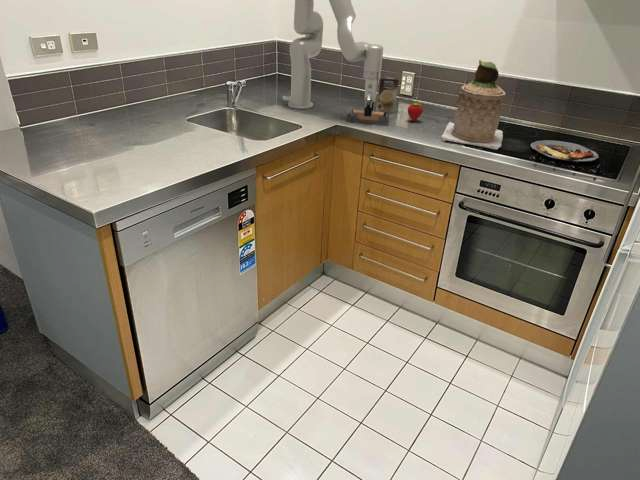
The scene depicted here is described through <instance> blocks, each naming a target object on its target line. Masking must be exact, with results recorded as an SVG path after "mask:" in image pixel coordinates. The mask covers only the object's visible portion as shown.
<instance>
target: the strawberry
mask: <svg viewBox="0 0 640 480" xmlns="http://www.w3.org/2000/svg"><path fill="white" fill-rule="evenodd" d="M423 112H424V108H423V106H422V103H418V99H416V102H414V103H411V104H410V105H409V106H408V107H407V114H408V116H409V118H410V119H411V120H412V122H416V121H417V120H418V119H419V118H420V117H421V115H422V113H423Z"/></svg>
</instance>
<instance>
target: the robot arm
mask: <svg viewBox="0 0 640 480" xmlns="http://www.w3.org/2000/svg"><path fill="white" fill-rule="evenodd" d="M328 2H329V5H330V6H331V9H332V12H333V14H334V17H335V20H336V23H337V29H336V30H337V31H336V33H337V35H336V36H337V43H338V46H339V48H340V51H341V53H342V56H343V57H344V59H346V61H347V62H349V63H355V62H360V61H364V65H363V66H364V67H363V79H365V85H364V102H365V104H364V105H365V106H364V110H363V111H364V116H369V117H371V113H372V111H374V103H377V98H378V88H379V80H380V76H382V67H383V65H382V63H383V55H384V47H383V45H380V44H376V43H375V44H374V43H373V44H372V43H370V42H365V41H357V42H355V40H354V39H355V38H354V37H353V36H354V35H353V34H352V33H353V32H352V26H353V23H354V21H355V19H356V17H357V15H356V12H355V9H354V6H353V4H352V0H328ZM314 5H315V3H314V0H294V10H293V11H294V12H293V13H294V14H293V29H294V32H296V33H297V35H301V37H298V38H295V39H293V40H292V42H290V44H289V55H290V65H291V69H290V70H291V71H290V73H291V74H290V78H291V79H290V80H291V81H290V82H291V83H290V95H288V96H287V95H283V96H282V101H285V102H286V101H287V106H288V107H289V108H292V109H297V110H299V109H300V110H307V109H311V108H313V107H314V103H313V102H312V101H311V89H312V86H311V85H312V84H311V83H312V66H311V62H310V59H311V58H315V57H316V56H318V55H320V52H321V50H322V45H323V37H324V35H323V34H324V21H323V17H322V16H321V14H320V13H319V12H318V11H316V10H315V11H314ZM302 35H303V36H302Z"/></svg>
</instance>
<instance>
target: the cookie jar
mask: <svg viewBox="0 0 640 480" xmlns="http://www.w3.org/2000/svg"><path fill="white" fill-rule="evenodd" d="M474 75H475V76H474V77H475V78H474V79H473V80H472V81H470V82H469V83H468V84H464V85H462V86H461V87H460V92H459V94H458V99H457V104H458V106H457V107H456V110H455V114H454V117H453V118H454V122H452V121H449V122H448V124H446V126H445V129H444V131H443V133H442V135H441V138H442V142H444V143H445V141H447V142H452V143H458V144H466V145H470V146H471V145H472V146H477V147H481V148H487V149H492V150H495V151H496V150H499V148H501V147H502V142H503V140H504V139H503V137H504V134H503V133H504V131H502V130H500V129H498V127H499V124H500V119H501V113H502V112H501V109H502V103H503V100H504V98H505V97H506V95H507V94H506V92H505V90H503V88H501V86H499V85H497V84H496V82H497V80H498V77H499V70H498V68H497V66H496V64H495V63H494V62H492V61H482V60H481V59H479V60H478V66H477V69H476V71H474Z"/></svg>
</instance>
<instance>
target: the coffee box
mask: <svg viewBox="0 0 640 480" xmlns="http://www.w3.org/2000/svg"><path fill="white" fill-rule="evenodd" d="M399 82H400V78H399V77H398V76H389V75H388V76H387V75H381V76H380V79H379V80H378V88H377V98H376V107H375V112H386V113H391V114H393V113H394V114H395V112H396V103H397V95H398V88H399Z"/></svg>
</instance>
